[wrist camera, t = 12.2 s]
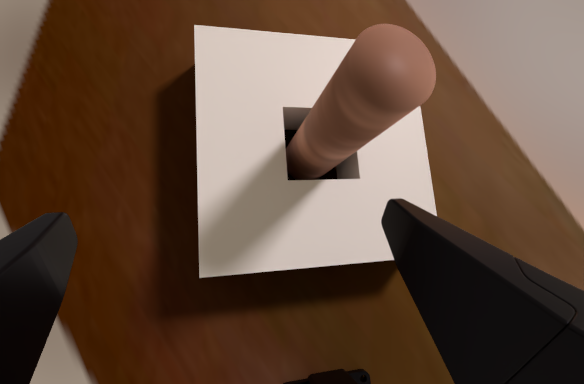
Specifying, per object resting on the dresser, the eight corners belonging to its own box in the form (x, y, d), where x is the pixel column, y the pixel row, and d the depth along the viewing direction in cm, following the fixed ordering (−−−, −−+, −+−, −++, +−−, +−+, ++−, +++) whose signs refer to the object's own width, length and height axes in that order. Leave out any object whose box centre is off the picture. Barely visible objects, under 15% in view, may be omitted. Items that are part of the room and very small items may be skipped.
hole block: (408, 254, 25) (442, 255, 21) (203, 272, 21) (199, 278, 17) (384, 73, 27) (410, 44, 23) (198, 61, 24) (194, 24, 20)
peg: (335, 161, 25) (451, 73, 12) (305, 191, 24) (399, 128, 11) (305, 129, 25) (390, 7, 12) (273, 157, 24) (332, 56, 11)
